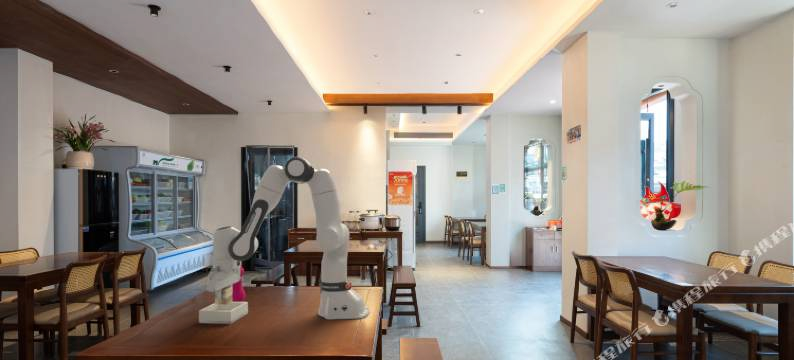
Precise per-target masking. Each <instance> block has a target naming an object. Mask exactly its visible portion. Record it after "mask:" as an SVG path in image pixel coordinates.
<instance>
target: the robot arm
mask: <svg viewBox="0 0 794 360" xmlns="http://www.w3.org/2000/svg"><path fill="white" fill-rule="evenodd" d="M290 183H292V184H301V185H302V184H303V185H304V184H307V185H308V187H309V190H310V194H311V199H312V204H313V207H314V212H315V213H314V214H315V225H316V226H315V227H316V237H315V240H316V243H317V245H318V247H319V248H320V249H322V250H323V253H322V254H323V256H322V260H321V262H320V263H321V267H320V268H321V271H320V273H321V275H320V276H321V280H320V285H319V289H320V300H319V301H320V303H319V307H318V312H317V315H318V316H319V317H322V318H324V319H326V320H349V319H351V320H352V319H363V318H365V317H367V316H368V315H369V314H370V312H371V310H370V307H368V306H366V305H365V301H364V297H363V296H362V295H361V294H359V293H358V292H357V291H355V290H354V289H353V288H352V282H353V281H352V280H349V279H348V276H347V275H348V256H349V255H348V254H349V243H350V235H351V234H350V229H349V228H348V226H347V225H345V224H344V223H341V222H342V221H341V205H340V201H339V197H338V196H339V195H338V193H337V188H336V184H335V181H334V179H333V175H332V174H331V171H330V170H328V169H326V168H314V167H313V165H312V164H311V163H310V162H309V161H308V160H307V159H306V158H304V157H303V156H302V157H301V156H293V157H290V158H289V159H288V160H287V161H286V162H285V164H284V166H282V165H279V164H278V165H277V164H271V165H270V166H269V167H267V169H266V170H265V172H264V173H263V175H262V177H261V178H260V181H259V182H258V185H257V187H256V190H255V192H254V194H253V195H254V196H253V198H252V199H253V200H252V203H251V207H250V211H249V213H248V215H247V218H246V219H245V221H244V224H243V226H242V228H241V230H239V229H237V228H235V227H234V226H232V225H231V226H223V227H219V228H217V229H216V230H215V231H214V233H213V239H212V250H213V256H212V268H211V269H210V271H209V273H208V275H207V279H206V280H207V281H206V290H207V292H212V293H213V292H214V294H215V293H216V295H217V300H221V299H222V298H223V295H221V291H222V288H225V287H232V286H233V284H234V283H236V282H238V281H239V279H240V267H241V265H242V262H245V261H248V260H249V259H251V258H252V256H253V255H254V253H255V252H256V251H257V250H258V248H259V239H258V238H257V235H258V233H259V230H260V228H261V225H262V224H263V222H264V220H265V219H266V218H267V216H268V215H269V214H270V213H271V212H273V210H274V209H275V208H276V207H277V205H278V203H279V202H280V200H281V198H282V197H283V194H284V192H285V190H286V188H287V186H288V185H289V184H290Z"/></svg>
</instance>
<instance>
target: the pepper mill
mask: <svg viewBox="0 0 794 360" xmlns="http://www.w3.org/2000/svg"><path fill="white" fill-rule="evenodd" d="M244 273H245V269H244V267H242V266H240V279H239V281H238V282H236V283H234V284H233V286H232V287H233V292H232V302H245V301H244V299H246V292H245V289H244V287H243V280H244V278H243V277H244V276H243V275H244Z"/></svg>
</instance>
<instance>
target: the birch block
mask: <svg viewBox="0 0 794 360" xmlns="http://www.w3.org/2000/svg"><path fill="white" fill-rule="evenodd" d="M232 292H233V287H225V288H222V291H221V295H223V298H222V299H221V300H217V295H216V293H215V292H214V303H215V304H222V305H226V304H228V303H230V302H232Z"/></svg>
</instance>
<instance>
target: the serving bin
mask: <svg viewBox="0 0 794 360" xmlns="http://www.w3.org/2000/svg"><path fill="white" fill-rule="evenodd" d="M248 314H249V302H248V301H244V302H230V303H228V304H226V305H222V304H215V302H214V303H212V304H210V305H208V306H206V307H204V308H201V309H200V310H198V323H199V324H217V325H218V324H220V325H223V324H224V325H231V324H233V323H235V322H236V321H238V320H240V319H241V318H244V317H245V316H247V315H248Z"/></svg>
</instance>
